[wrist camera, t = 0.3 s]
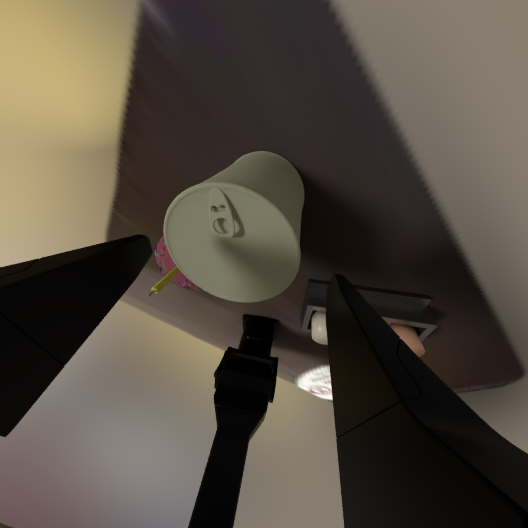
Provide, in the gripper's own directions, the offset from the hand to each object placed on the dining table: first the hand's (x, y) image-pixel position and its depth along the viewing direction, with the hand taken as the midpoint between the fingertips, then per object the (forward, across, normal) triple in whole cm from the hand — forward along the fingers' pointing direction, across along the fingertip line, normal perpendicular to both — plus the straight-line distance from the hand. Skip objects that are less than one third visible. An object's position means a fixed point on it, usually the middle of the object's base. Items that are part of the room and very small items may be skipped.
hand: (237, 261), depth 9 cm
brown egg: (+12, -20, +16) cm, 28 cm away
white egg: (+12, -10, +16) cm, 22 cm away
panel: (+14, -15, +16) cm, 26 cm away
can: (+14, +1, +2) cm, 15 cm away
